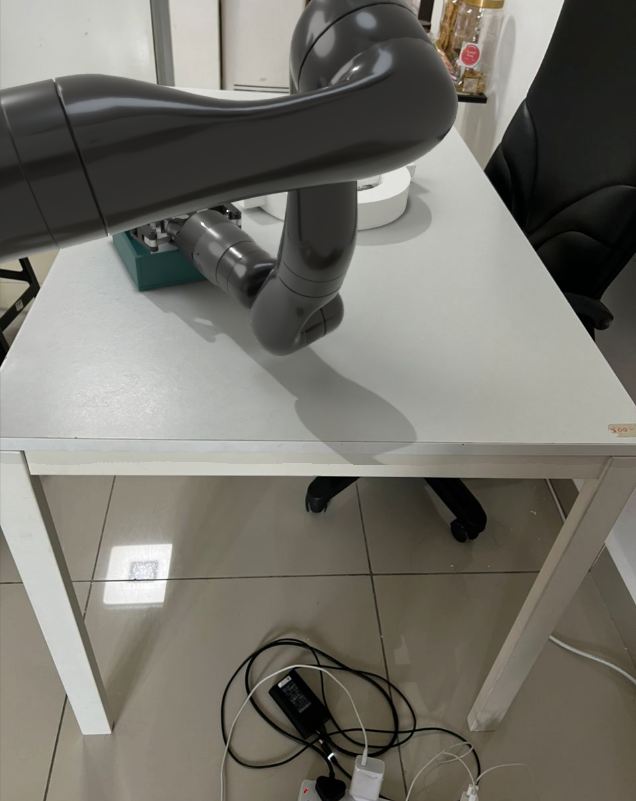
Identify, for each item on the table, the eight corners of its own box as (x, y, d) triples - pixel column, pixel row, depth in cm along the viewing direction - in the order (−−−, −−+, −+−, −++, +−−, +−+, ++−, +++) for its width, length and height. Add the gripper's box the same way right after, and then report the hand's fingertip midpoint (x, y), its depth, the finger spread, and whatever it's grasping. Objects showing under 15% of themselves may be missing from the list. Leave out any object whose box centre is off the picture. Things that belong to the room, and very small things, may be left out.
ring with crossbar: (229, 212, 108) (229, 185, 104) (276, 154, 128) (277, 130, 125) (393, 243, 104) (398, 216, 101) (414, 178, 125) (419, 154, 122)
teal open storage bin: (139, 291, 88) (134, 258, 84) (113, 243, 97) (108, 212, 93) (236, 273, 93) (236, 241, 90) (203, 230, 102) (202, 199, 99)
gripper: (269, 212, 82) (205, 166, 91) (168, 237, 75) (110, 185, 84) (267, 264, 87) (207, 216, 96) (172, 292, 80) (117, 237, 89)
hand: (162, 201), depth 90 cm, fingers open, 8 cm apart
